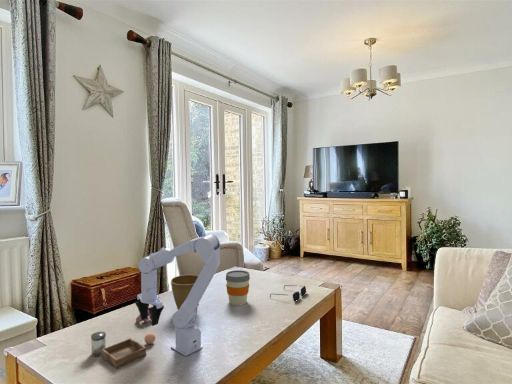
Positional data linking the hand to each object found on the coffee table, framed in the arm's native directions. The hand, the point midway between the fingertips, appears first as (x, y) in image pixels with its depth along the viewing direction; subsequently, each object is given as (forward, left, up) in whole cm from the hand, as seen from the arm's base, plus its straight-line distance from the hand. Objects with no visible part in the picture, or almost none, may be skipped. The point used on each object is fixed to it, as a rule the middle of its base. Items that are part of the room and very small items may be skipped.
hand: (149, 321), depth 124 cm
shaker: (+8, +16, -8) cm, 20 cm away
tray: (-1, +11, -8) cm, 14 cm away
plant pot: (+13, -28, -9) cm, 32 cm away
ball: (0, 0, -6) cm, 6 cm away
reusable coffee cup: (+3, -53, -9) cm, 54 cm away
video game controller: (+19, -11, -9) cm, 24 cm away
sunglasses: (-12, -78, -9) cm, 79 cm away
